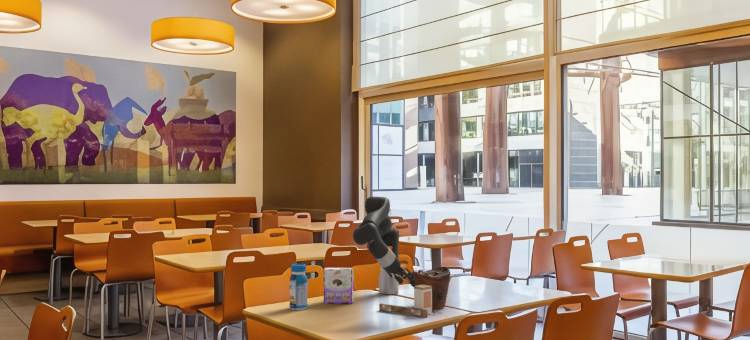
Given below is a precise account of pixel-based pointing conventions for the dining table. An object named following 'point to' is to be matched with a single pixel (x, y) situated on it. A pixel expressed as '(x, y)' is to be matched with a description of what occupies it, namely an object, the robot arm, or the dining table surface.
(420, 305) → the sugar carton
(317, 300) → the dining table surface
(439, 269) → the brown round rimmed container
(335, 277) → the candy box
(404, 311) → the rail
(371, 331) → the dining table surface
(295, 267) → the beverage bottle
